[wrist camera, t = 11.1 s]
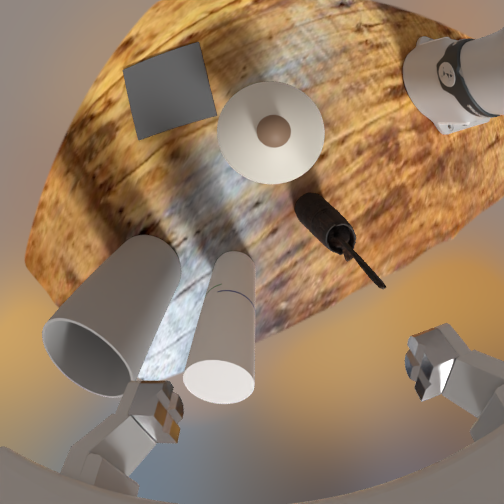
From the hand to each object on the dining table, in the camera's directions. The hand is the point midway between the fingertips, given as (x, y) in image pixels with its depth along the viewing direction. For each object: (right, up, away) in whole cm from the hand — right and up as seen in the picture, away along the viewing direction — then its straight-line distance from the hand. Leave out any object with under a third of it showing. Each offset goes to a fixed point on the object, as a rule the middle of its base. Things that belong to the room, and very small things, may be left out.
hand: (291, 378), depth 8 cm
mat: (-14, +29, +28) cm, 43 cm away
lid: (+1, +17, +19) cm, 25 cm away
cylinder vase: (-20, +2, +40) cm, 45 cm away
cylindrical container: (-4, +1, +40) cm, 40 cm away
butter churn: (+9, +10, +36) cm, 38 cm away
